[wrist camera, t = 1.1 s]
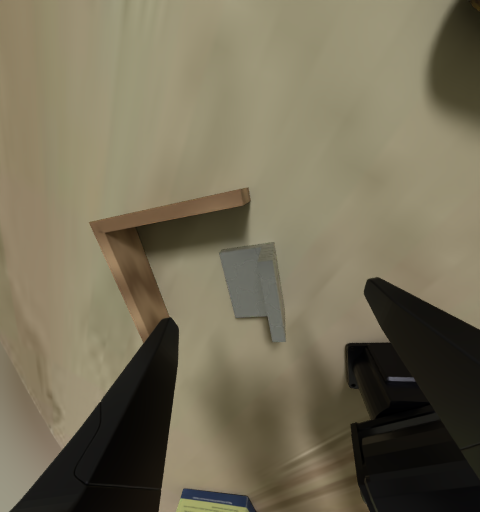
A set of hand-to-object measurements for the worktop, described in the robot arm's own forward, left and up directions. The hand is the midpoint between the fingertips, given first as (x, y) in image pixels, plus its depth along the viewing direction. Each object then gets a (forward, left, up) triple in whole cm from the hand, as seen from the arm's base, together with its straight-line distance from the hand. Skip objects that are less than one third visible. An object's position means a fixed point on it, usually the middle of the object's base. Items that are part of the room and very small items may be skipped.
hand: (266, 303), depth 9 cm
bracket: (-4, +3, -12) cm, 13 cm away
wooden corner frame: (-2, +9, -11) cm, 14 cm away
